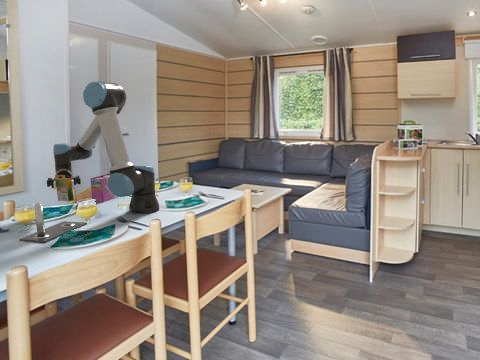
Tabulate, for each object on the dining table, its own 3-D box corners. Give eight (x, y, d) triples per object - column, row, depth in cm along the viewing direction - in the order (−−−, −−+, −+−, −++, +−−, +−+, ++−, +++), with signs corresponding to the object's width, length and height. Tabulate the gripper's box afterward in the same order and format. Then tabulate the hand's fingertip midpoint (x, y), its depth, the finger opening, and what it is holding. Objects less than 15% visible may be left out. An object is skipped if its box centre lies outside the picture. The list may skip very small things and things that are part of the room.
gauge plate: (87, 224, 175) (87, 222, 175) (45, 243, 150) (45, 240, 150) (64, 222, 178) (64, 220, 178) (19, 240, 153) (19, 238, 153)
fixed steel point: (46, 235, 157) (43, 202, 155) (41, 237, 155) (38, 204, 152) (41, 234, 158) (37, 202, 156) (35, 236, 155) (32, 204, 153)
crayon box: (74, 200, 171) (71, 174, 169) (68, 201, 168) (64, 175, 166) (63, 199, 174) (60, 173, 173) (57, 200, 172) (54, 174, 170)
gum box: (116, 193, 243) (114, 171, 241) (127, 194, 241) (126, 172, 239) (91, 201, 221) (89, 178, 218) (103, 202, 218) (101, 178, 216)
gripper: (86, 183, 192) (88, 191, 171) (42, 187, 184) (39, 196, 164) (84, 168, 191) (87, 175, 170) (40, 171, 183) (37, 178, 162)
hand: (63, 185), depth 167 cm, fingers closed on crayon box, 6 cm apart
